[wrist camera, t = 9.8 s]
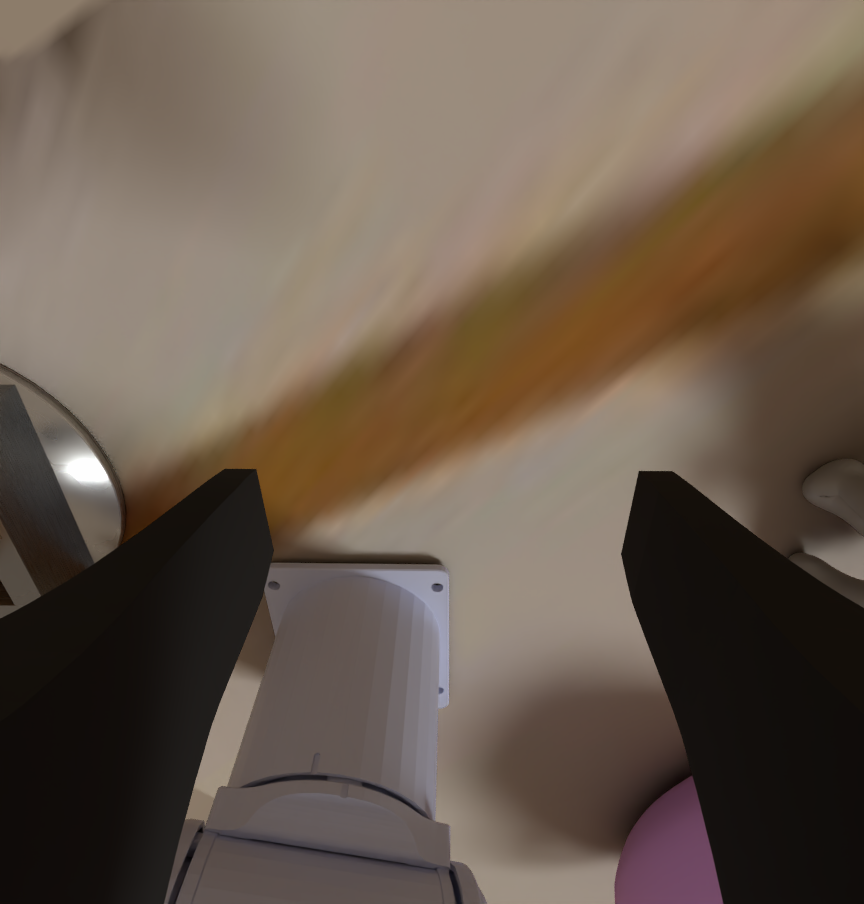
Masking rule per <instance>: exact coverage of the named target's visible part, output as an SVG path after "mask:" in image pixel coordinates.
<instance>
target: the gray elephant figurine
mask: <svg viewBox="0 0 864 904" xmlns="http://www.w3.org/2000/svg"><path fill="white" fill-rule="evenodd" d="M802 492H803V495H804V497H805V498H806V499H807V500H808V501H809V502H810V503H812V504H813V505H815V506H817V507H819V508H822V509H824V510H826V511H828V512H831V513H833V514H835V515H837V516H839V517H841V518H842V519H844V520H845V521H846V522H848V523H849V524H850V525H851V526H852V527H853V528H854V529H855V530H856V531H858V532H859V533H860V534H861V535H862V536H863V537H864V465H863V464H862V463H861V462H859V461H857V460H854V459H840V460H835V461H832V462H830V463H827V464H825V465H823V466H821V467H820V468H819V469H817V470H816V471H815V472H813V473H812V474H811V475H809V476H808V477H807V478H806V479H805V481H804V482H803V485H802ZM788 559H789V560H790V561H792V562H793V563H795V564H796V565H797V566H799V567H800V568H802V569H803V570H805V571H806V572H808V573H809V574H811V575H812V576H814V577H815V578H816V579H818V580H819V581H821V582H822V583H824V584H826V585H827V586H829V587H830V588H832V589H833V590H835V591H837V592H838V593H840V594H841V595H843V596H845V597H846V598H848V599H850V600H851V601H853V602H855V603H856V604H858V605H860V606H861V607H863V608H864V580H860V579H856V578H853V577H851V576H848V575H846V574H844V573H842V572H841V571H839V570H837V569H835V568H834V567H832V566H830V565H829V564H827V563H826V562H824V561H823V560H821V559H819V558H817V557H815V556H812V555H809V554H806V553H795V554H793V555H791V556H790V557H789V558H788Z"/></svg>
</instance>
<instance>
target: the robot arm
mask: <svg viewBox="0 0 864 904" xmlns="http://www.w3.org/2000/svg"><path fill="white" fill-rule="evenodd" d="M273 552H274V549H273V545H272V540H271V536H270V531H269V526H268V522H267V517H266V512H265V508H264V503H263V499H262V494H261V489H260V485H259V480H258V475H257V471H256V469H224V470H223V471H221V472H220V473H218V474H216V475H215V476H214V477H212V478H211V479H210V480H208V481H207V482H205V483H204V484H203V485H201V486H200V487H199V488H198V489H196V490H195V491H194V492H192V493H191V494H190V495H188V496H187V497H186V498H184V499H183V500H182V501H181V502H179V503H178V504H177V505H175V506H174V507H173V508H171V509H170V510H169V511H167V512H166V513H165V514H163V515H162V516H161V517H159V518H158V519H157V520H155V521H154V522H153V523H151V524H150V525H149V526H147V527H146V528H145V529H143V530H142V531H141V532H139V533H138V534H136V535H135V536H133V537H132V538H131V539H129V540H128V541H126V542H125V543H123V544H122V545H120V546H119V547H117V548H116V549H115V550H113V551H112V552H110V553H109V554H107V555H106V556H104V557H103V558H102V559H100V560H99V561H97V562H96V563H94V564H93V565H91V566H90V567H88V568H87V569H85V570H84V571H82V572H81V573H79V574H77V575H76V576H74V577H73V578H71V579H69V580H68V581H66V582H64V583H63V584H61V585H59V586H58V587H56V588H54V589H53V590H51V591H49V592H47V593H46V594H44V595H42V596H41V597H39V598H37V599H35V600H34V601H32V602H30V603H29V604H27V605H25V606H23V607H21V608H19V609H18V610H16V611H14V612H12V613H10V614H8V615H6V616H4V617H2V618H0V904H487V902H486V900H485V897H484V895H483V893H482V892H481V890H480V888H479V887H478V885H477V882H476V880H475V877H474V875H473V873H472V872H471V870H470V869H469V868H468V866H467V865H465V864H463V863H460V862H455V861H450V826H449V825H448V824H444V823H439V822H436V821H435V814H436V775H437V735H438V709H439V708H444V707H446V706H447V705H448V704H449V571H448V569H447V568H446V567H444V566H442V565H437V564H347V563H271V560H272V556H273ZM621 555H622V560H623V565H624V569H625V574H626V579H627V583H628V587H629V591H630V595H631V599H632V603H633V606H634V608H635V611H636V614H637V617H638V619H639V622H640V625H641V627H642V630H643V633H644V635H645V638H646V641H647V643H648V646H649V649H650V651H651V654H652V657H653V659H654V662H655V664H656V667H657V670H658V672H659V675H660V677H661V680H662V683H663V685H664V688H665V691H666V693H667V696H668V698H669V701H670V704H671V706H672V709H673V712H674V715H675V718H676V721H677V724H678V727H679V730H680V733H681V736H682V739H683V743H684V746H685V750H686V754H687V757H688V761H689V765H690V769H691V772H692V776H693V780H694V784H695V787H696V791H697V795H698V799H699V803H700V807H701V811H702V815H703V819H704V823H705V827H706V831H707V835H708V839H709V843H710V847H711V852H712V856H713V860H714V864H715V869H716V873H717V878H718V882H719V887H720V891H721V896H722V900H723V904H864V608H863V607H861V606H860V605H858V604H856V603H855V602H853V601H851V600H850V599H848V598H846V597H845V596H843V595H841V594H840V593H838V592H837V591H835V590H833V589H832V588H830V587H829V586H827V585H826V584H824V583H822V582H821V581H819V580H818V579H816V578H815V577H814V576H812V575H811V574H809V573H808V572H806V571H805V570H803V569H802V568H800V567H799V566H797V565H796V564H795V563H793V562H792V561H790V560H789V559H787V558H786V557H784V556H783V555H782V554H780V553H779V552H777V551H776V550H775V549H773V548H772V547H771V546H769V545H768V544H766V543H765V542H764V541H762V540H761V539H760V538H758V537H757V536H756V535H754V534H753V533H752V532H750V531H749V530H748V529H747V528H745V527H744V526H743V525H741V524H740V523H739V522H737V521H736V520H735V519H734V518H732V517H731V516H730V515H728V514H727V513H726V512H725V511H723V510H722V509H721V508H720V507H718V506H717V505H716V504H715V503H713V502H712V501H711V500H709V499H708V498H707V497H706V496H704V495H703V494H702V493H701V492H699V491H698V490H697V489H696V488H694V487H693V486H692V485H690V484H689V483H688V482H687V481H685V480H684V479H683V478H681V477H680V476H678V475H677V474H676V473H674V472H673V471H639V473H638V478H637V483H636V487H635V492H634V497H633V501H632V506H631V511H630V515H629V520H628V525H627V530H626V534H625V539H624V544H623V548H622V553H621ZM272 581H275V582H277V583H274V582H272ZM435 583H439V584H441V585H434V584H435ZM263 592H265V596H266V600H267V605H268V609H269V613H270V617H271V621H272V625H273V630H274V634H275V641H274V644H273V647H272V650H271V653H270V656H269V659H268V662H267V665H266V669H265V672H264V675H263V678H262V681H261V684H260V687H259V690H258V693H257V696H256V699H255V702H254V705H253V709H252V712H251V715H250V718H249V721H248V724H247V727H246V730H245V733H244V736H243V739H242V742H241V746H240V749H239V752H238V755H237V758H236V761H235V764H234V767H233V770H232V773H231V776H230V779H229V782H228V786H227V787H225V786H221V787H219V788H218V790H217V793H216V796H215V799H214V802H213V805H212V808H211V811H210V814H209V817H208V820H207V823H206V826H205V824H204V821H202V820H196V819H186V820H185V817H186V814H187V810H188V806H189V802H190V799H191V795H192V791H193V788H194V784H195V780H196V777H197V773H198V770H199V766H200V763H201V760H202V756H203V753H204V749H205V746H206V742H207V739H208V736H209V732H210V729H211V726H212V723H213V720H214V717H215V715H216V712H217V709H218V706H219V703H220V701H221V698H222V696H223V693H224V691H225V688H226V686H227V684H228V681H229V679H230V676H231V674H232V671H233V669H234V666H235V664H236V661H237V659H238V656H239V654H240V652H241V649H242V647H243V644H244V642H245V639H246V637H247V634H248V632H249V629H250V627H251V624H252V622H253V619H254V617H255V614H256V612H257V609H258V606H259V604H260V601H261V599H262V596H263Z"/></svg>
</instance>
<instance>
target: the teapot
mask: <svg viewBox="0 0 864 904" xmlns="http://www.w3.org/2000/svg"><path fill="white" fill-rule="evenodd" d="M615 904H723V900H722V896H721V891H720V887H719V882H718V878H717V873H716V869H715V864H714V860H713V856H712V852H711V847H710V843H709V839H708V835H707V831H706V827H705V823H704V819H703V815H702V811H701V807H700V803H699V799H698V795H697V791H696V787H695V784H694V780H693V776H690V777H688V778H687V779H685V780H684V781H682V782H681V783H679V784H677V785H676V786H674V787H673V788H672V789H670V790H669V791H667V792H666V793H664V794H663V795H662V796H661V797H660V798H658V799H657V800H656V801H655V802H654V803H653V804H652V805H651V806H650V807H649V808H648V809H647V810H646V811H645V812H644V813H643V814H642V816H641V817H640V818H639V819H638V821H637V822H636V824H635V825H634V827H633V828H632V830H631V832H630V833H629V835H628V837H627V839H626V842H625V845H624V848H623V850H622V853H621V857H620V860H619V864H618V868H617V872H616V878H615Z"/></svg>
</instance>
